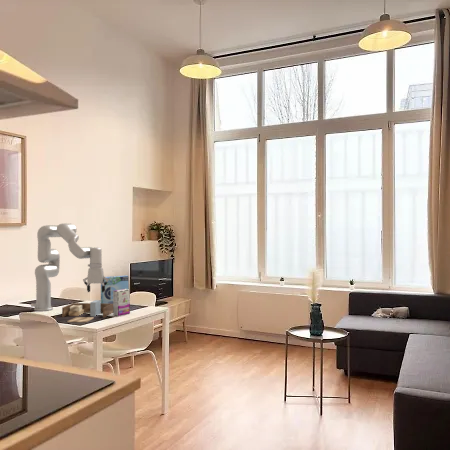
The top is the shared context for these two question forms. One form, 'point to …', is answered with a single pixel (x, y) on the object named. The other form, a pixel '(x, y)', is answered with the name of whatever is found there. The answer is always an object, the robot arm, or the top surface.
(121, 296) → the candy bar box
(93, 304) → the pale blue block
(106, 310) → the rack
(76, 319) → the mat
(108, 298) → the blue cardboard box
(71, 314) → the oak offcut
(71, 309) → the birch offcut
